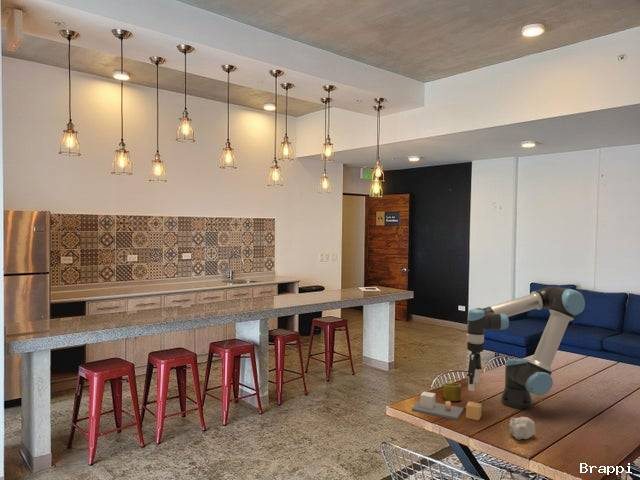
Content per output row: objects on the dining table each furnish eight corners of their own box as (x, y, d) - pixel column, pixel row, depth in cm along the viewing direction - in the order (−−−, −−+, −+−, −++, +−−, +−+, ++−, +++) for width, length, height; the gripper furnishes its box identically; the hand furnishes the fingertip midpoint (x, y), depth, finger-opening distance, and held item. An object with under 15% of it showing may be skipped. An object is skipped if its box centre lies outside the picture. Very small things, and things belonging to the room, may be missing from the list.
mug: (465, 400, 245) (459, 381, 247) (445, 405, 247) (440, 385, 249) (464, 397, 256) (459, 378, 259) (445, 401, 258) (440, 382, 261)
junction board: (463, 410, 237) (463, 395, 237) (457, 420, 225) (457, 404, 224) (419, 401, 247) (420, 388, 247) (411, 410, 235) (412, 396, 235)
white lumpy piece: (517, 443, 200) (501, 432, 215) (543, 442, 201) (525, 431, 216) (516, 420, 201) (500, 411, 216) (542, 420, 202) (524, 411, 217)
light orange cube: (481, 416, 230) (481, 403, 230) (479, 420, 225) (479, 407, 225) (468, 413, 233) (468, 401, 233) (465, 417, 228) (466, 405, 227)
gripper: (472, 336, 241) (471, 378, 241) (461, 346, 219) (460, 392, 219) (488, 338, 237) (486, 380, 238) (478, 348, 215) (477, 395, 216)
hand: (474, 386), depth 228 cm, fingers open, 13 cm apart
